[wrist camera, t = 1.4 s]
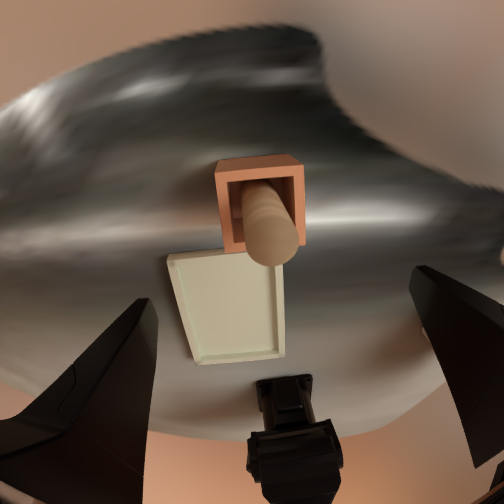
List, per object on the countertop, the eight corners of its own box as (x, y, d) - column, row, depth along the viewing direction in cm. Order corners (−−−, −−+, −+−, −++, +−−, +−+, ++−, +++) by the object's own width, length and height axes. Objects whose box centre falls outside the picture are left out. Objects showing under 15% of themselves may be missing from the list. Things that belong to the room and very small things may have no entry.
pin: (274, 205, 21) (299, 263, 13) (241, 208, 21) (248, 269, 13) (272, 173, 20) (298, 214, 12) (238, 176, 20) (242, 219, 12)
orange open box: (290, 217, 23) (305, 244, 18) (226, 224, 22) (225, 253, 18) (287, 153, 20) (303, 164, 16) (218, 160, 20) (214, 172, 16)
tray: (283, 348, 29) (285, 356, 28) (196, 356, 29) (195, 364, 28) (279, 242, 23) (281, 248, 22) (169, 254, 23) (166, 260, 22)
